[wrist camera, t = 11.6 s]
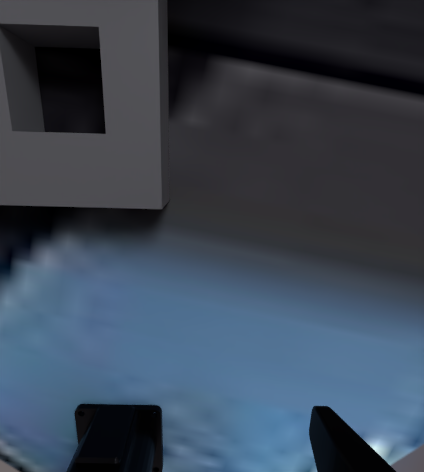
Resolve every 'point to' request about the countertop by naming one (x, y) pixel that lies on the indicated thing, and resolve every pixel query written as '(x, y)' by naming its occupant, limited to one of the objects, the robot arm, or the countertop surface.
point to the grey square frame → (115, 106)
